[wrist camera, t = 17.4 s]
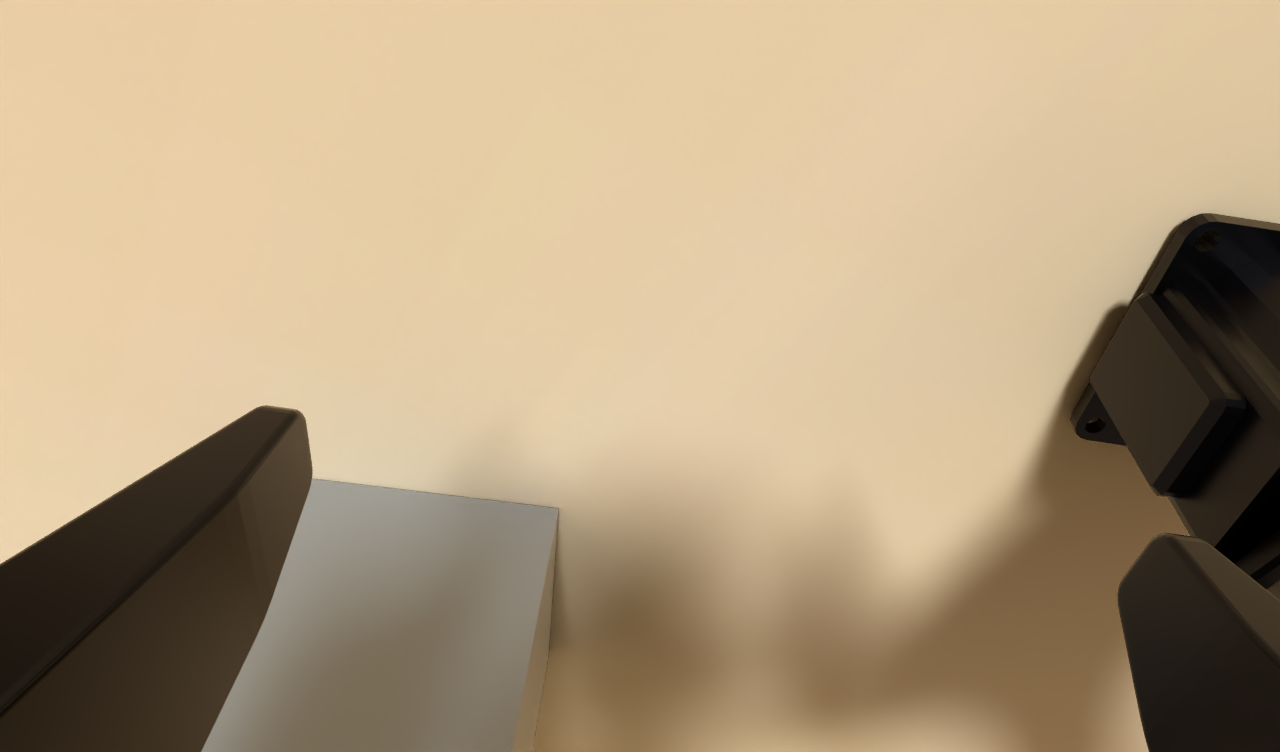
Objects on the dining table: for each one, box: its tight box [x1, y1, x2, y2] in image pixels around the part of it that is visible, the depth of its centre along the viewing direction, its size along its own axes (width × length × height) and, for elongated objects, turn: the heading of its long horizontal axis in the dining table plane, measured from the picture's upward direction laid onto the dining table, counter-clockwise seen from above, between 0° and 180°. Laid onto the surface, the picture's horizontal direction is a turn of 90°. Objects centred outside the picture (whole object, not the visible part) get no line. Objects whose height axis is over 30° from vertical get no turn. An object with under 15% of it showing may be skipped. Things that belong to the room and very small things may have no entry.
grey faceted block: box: [201, 479, 559, 752], centre depth 25 cm, size 8×8×9 cm
